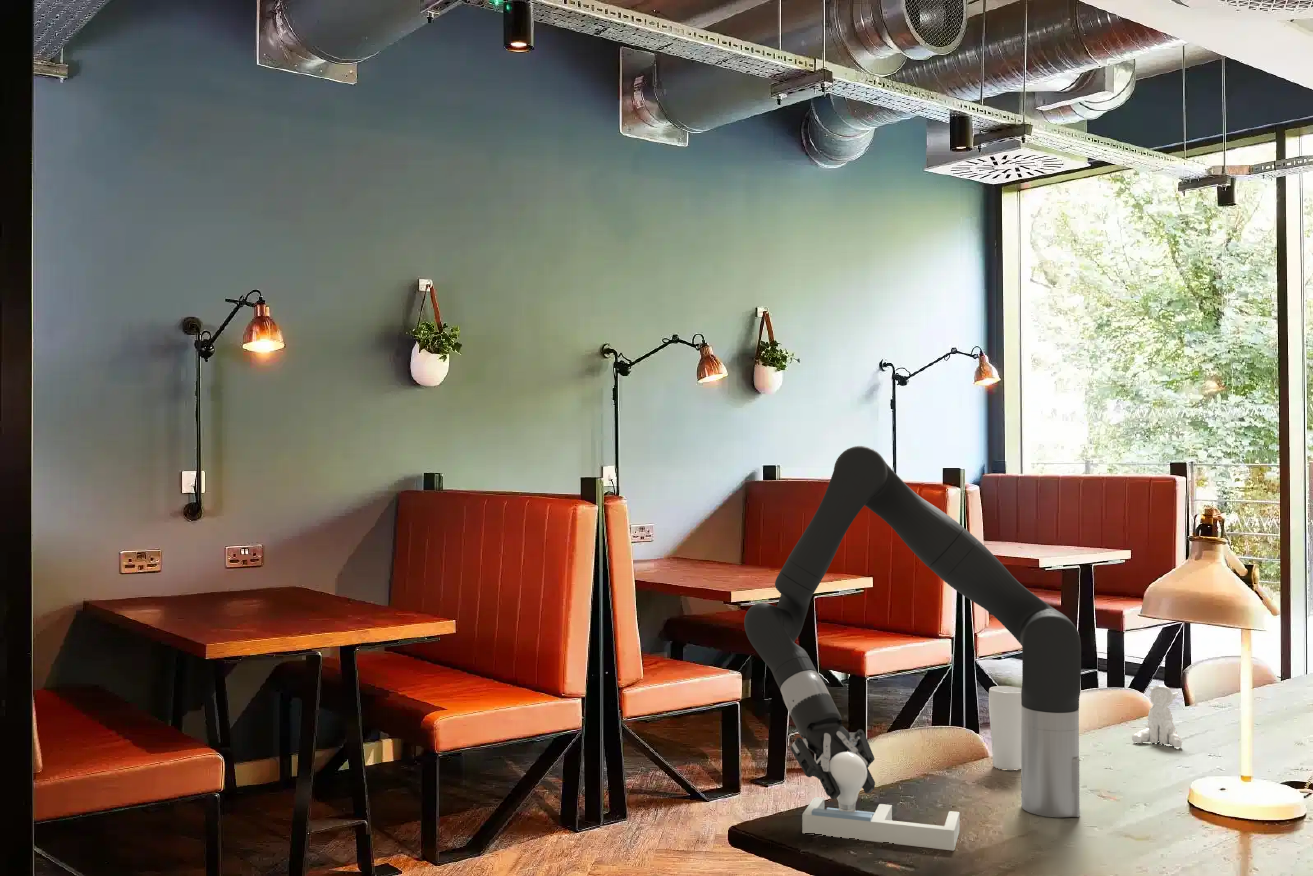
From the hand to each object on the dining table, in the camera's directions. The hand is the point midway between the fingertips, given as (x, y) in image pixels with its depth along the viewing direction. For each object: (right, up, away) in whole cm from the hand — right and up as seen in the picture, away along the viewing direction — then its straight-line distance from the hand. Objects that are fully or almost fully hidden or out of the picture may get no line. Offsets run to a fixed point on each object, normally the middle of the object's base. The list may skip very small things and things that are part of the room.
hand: (853, 793), depth 183 cm
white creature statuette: (+74, -7, +57) cm, 93 cm away
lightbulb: (-1, -5, +1) cm, 5 cm away
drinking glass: (+36, -7, +37) cm, 51 cm away
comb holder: (+5, -6, 0) cm, 7 cm away
